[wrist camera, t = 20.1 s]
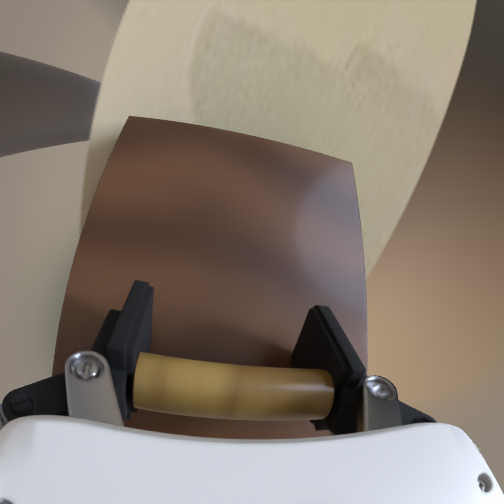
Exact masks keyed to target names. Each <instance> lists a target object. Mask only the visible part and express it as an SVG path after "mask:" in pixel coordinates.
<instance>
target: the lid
mask: <svg viewBox="0 0 504 504" xmlns="http://www.w3.org/2000/svg"><path fill="white" fill-rule="evenodd" d="M135 280H139V281H145V282H149V286H152V287H154V295H153V311H152V331H151V346H150V351H149V353H146V352H140V353H139V355H138V357H137V361H136V365H135V371H134V378H133V391H132V399H133V406H134V407H135V408H137V409H138V411H137V413H135V412H132V414H131V420H128V419H126V420H125V421H123V423H124V427H128V428H134V429H140V430H147V431H154V432H161V433H168V434H176V435H185V436H195V437H208V438H225V439H294V438H311V437H323V436H330V432H331V431H329V430H320V431H316V430H315V426H314V424H312V423H310V421H309V420H320V419H324V418H325V417H327V416H328V414H329V413H330V411H331V409H332V406H333V401H334V384H333V380H332V377H331V375H330V374H329V372H328V371H326V370H325V369H301V368H292V366H291V355H292V353H293V350H294V348H295V345H296V343H297V340H298V337H299V335H300V332H301V330H302V327H303V324H304V322H305V319H306V316H307V314H308V311H309V309H310V308H313V307H314V306H315V305H321V306H329V308H330V309H331V311H332V312H333V314H334V316H335V317H336V319H337V321H338V322H339V324H340V326H341V327H342V329H343V331H344V332H345V334H346V336H347V337H348V339H349V341H350V343H351V344H352V346H353V348H354V349H355V351H356V353H357V354H358V356H359V358H360V360H361V361H362V363H363V365H364V366H365V368H366V372H365V373H366V375H367V366H368V364H367V363H368V360H367V359H368V335H367V334H368V333H367V332H368V329H367V299H366V279H365V265H364V252H363V242H362V232H361V223H360V214H359V206H358V199H357V191H356V185H355V178H354V172H353V166H352V163H351V162H348V161H344V160H341V159H338V158H335V157H331V156H328V155H325V154H321V153H318V152H314V151H311V150H307V149H304V148H300V147H296V146H292V145H289V144H285V143H281V142H277V141H273V140H268V139H264V138H260V137H256V136H251V135H247V134H242V133H237V132H232V131H227V130H222V129H217V128H211V127H206V126H200V125H194V124H188V123H182V122H175V121H168V120H161V119H153V118H144V117H135V116H129V117H128V119H127V121H126V123H125V125H124V127H123V129H122V131H121V133H120V136H119V138H118V140H117V142H116V144H115V146H114V149H113V151H112V153H111V155H110V158H109V160H108V162H107V165H106V167H105V170H104V172H103V174H102V177H101V179H100V182H99V185H98V187H97V190H96V192H95V195H94V198H93V201H92V203H91V206H90V209H89V212H88V215H87V218H86V221H85V224H84V227H83V230H82V233H81V236H80V240H79V243H78V246H77V250H76V253H75V257H74V261H73V264H72V268H71V272H70V276H69V280H68V284H67V288H66V293H65V298H64V302H63V307H62V312H61V318H60V322H59V328H58V335H57V341H56V348H55V355H54V362H53V371H52V376H55V375H58V374H60V373H63V372H65V362H66V360H67V359H68V357H70V356H71V355H72V354H74V353H76V352H79V351H91V349H92V347H93V344H94V342H95V340H96V338H97V336H98V333H99V331H100V329H101V327H102V325H103V323H104V320H105V318H106V316H107V314H108V312H109V310H110V309H114V310H119V311H121V310H122V308H123V306H124V303H125V301H126V299H127V296H128V294H129V292H130V290H131V288H132V285H133V283H134V281H135Z"/></svg>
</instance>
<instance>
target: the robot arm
mask: <svg viewBox="0 0 504 504" xmlns="http://www.w3.org/2000/svg"><path fill="white" fill-rule="evenodd" d="M153 295H154V287H152V286H149V282H145V281H139V280H135V281H134V283H133V285H132V288H131V290H130V292H129V294H128V296H127V299H126V301H125V303H124V306H123V308H122V310H121V311H119V310H114V309H110V310H109V312H108V314H107V316H106V318H105V320H104V323H103V325H102V327H101V329H100V331H99V333H98V336H97V338H96V340H95V342H94V344H93V347H92V349H91V351H79V352H76V353H74V354H72V355H71V356H70V357H68V359H67V360H66V362H65V372H63V373H60V374H58V375H55V376H52V377H50V378H47V379H44V380H41V381H38V382H35V383H32V384H30V385H27V386H24V387H21V388H18V389H15V390H13V391H11V392H9V393H8V394H7V395H6V396H5V398H4V400H3V403H2V404H0V504H504V495H503V493H502V491H501V489H500V487H499V485H498V483H497V481H496V479H495V478H494V476H493V474H492V472H491V470H490V469H489V467H488V465H487V464H486V462H485V460H484V459H483V457H482V456H481V454H480V449H479V447H478V446H477V444H476V443H474V442H473V441H471V439H470V438H469V437H468V436H467V435H466V434H465V432H463V431H462V430H461V429H460V428H458V427H456V426H453V425H449V424H444V423H437V422H436V421H435V420H434V419H433V418H432V417H430V416H429V415H427V414H425V413H423V412H420V411H418V410H416V409H414V408H412V407H410V406H408V405H406V404H404V403H403V402H401V401H399V400H398V394H397V390H396V387H395V386H394V385H393V383H391V382H390V381H389V380H387V379H386V378H384V377H381V376H376V375H372V376H369V377H368V376H367V375H366V373H365V372H366V368H365V366H364V365H363V363H362V361H361V360H360V358H359V356H358V354H357V353H356V351H355V349H354V348H353V346H352V344H351V343H350V341H349V339H348V337H347V336H346V334H345V332H344V331H343V329H342V327H341V326H340V324H339V322H338V321H337V319H336V317H335V316H334V314H333V312H332V311H331V309H330V308H329V306H321V305H315V306H314V307H313V308H310V309H309V311H308V314H307V316H306V319H305V322H304V324H303V327H302V330H301V332H300V335H299V337H298V340H297V343H296V345H295V348H294V350H293V353H292V355H291V366H292V368H301V369H325V370H326V371H328V372H329V374H330V375H331V377H332V380H333V384H334V401H333V406H332V409H331V411H330V413H329V414H328V416H327V417H325V418H324V419H320V420H309V421H310V423H312V424H314V426H315V430H316V431H320V430H329V431H331V432H330V436H323V437H311V438H294V439H225V438H208V437H195V436H185V435H176V434H168V433H161V432H154V431H147V430H140V429H134V428H128V427H124V423H123V421H125V420H126V419H128V420H131V414H132V412H135V413H137V411H138V409H137V408H135V407H134V406H133V399H132V391H133V378H134V371H135V365H136V361H137V357H138V355H139V353H140V352H146V353H149V351H150V346H151V331H152V311H153Z"/></svg>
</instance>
